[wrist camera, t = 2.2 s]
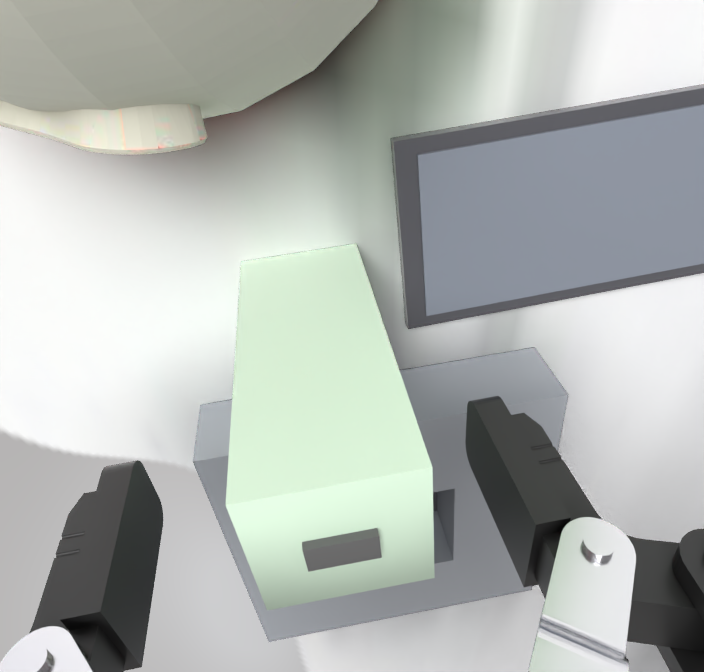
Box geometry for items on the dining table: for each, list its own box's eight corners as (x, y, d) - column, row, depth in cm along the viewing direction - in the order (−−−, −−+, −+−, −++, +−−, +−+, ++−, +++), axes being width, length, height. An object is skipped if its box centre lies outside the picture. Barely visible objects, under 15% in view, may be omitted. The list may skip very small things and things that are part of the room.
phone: (386, 133, 17) (394, 142, 16) (772, 66, 17) (800, 71, 17) (402, 315, 21) (409, 330, 20) (714, 255, 22) (734, 268, 21)
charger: (356, 243, 18) (435, 475, 10) (366, 336, 21) (436, 586, 12) (241, 261, 18) (225, 514, 10) (264, 353, 20) (267, 619, 12)
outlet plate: (534, 347, 22) (568, 394, 20) (510, 539, 30) (531, 589, 28) (200, 404, 21) (192, 461, 19) (268, 586, 30) (269, 641, 27)
